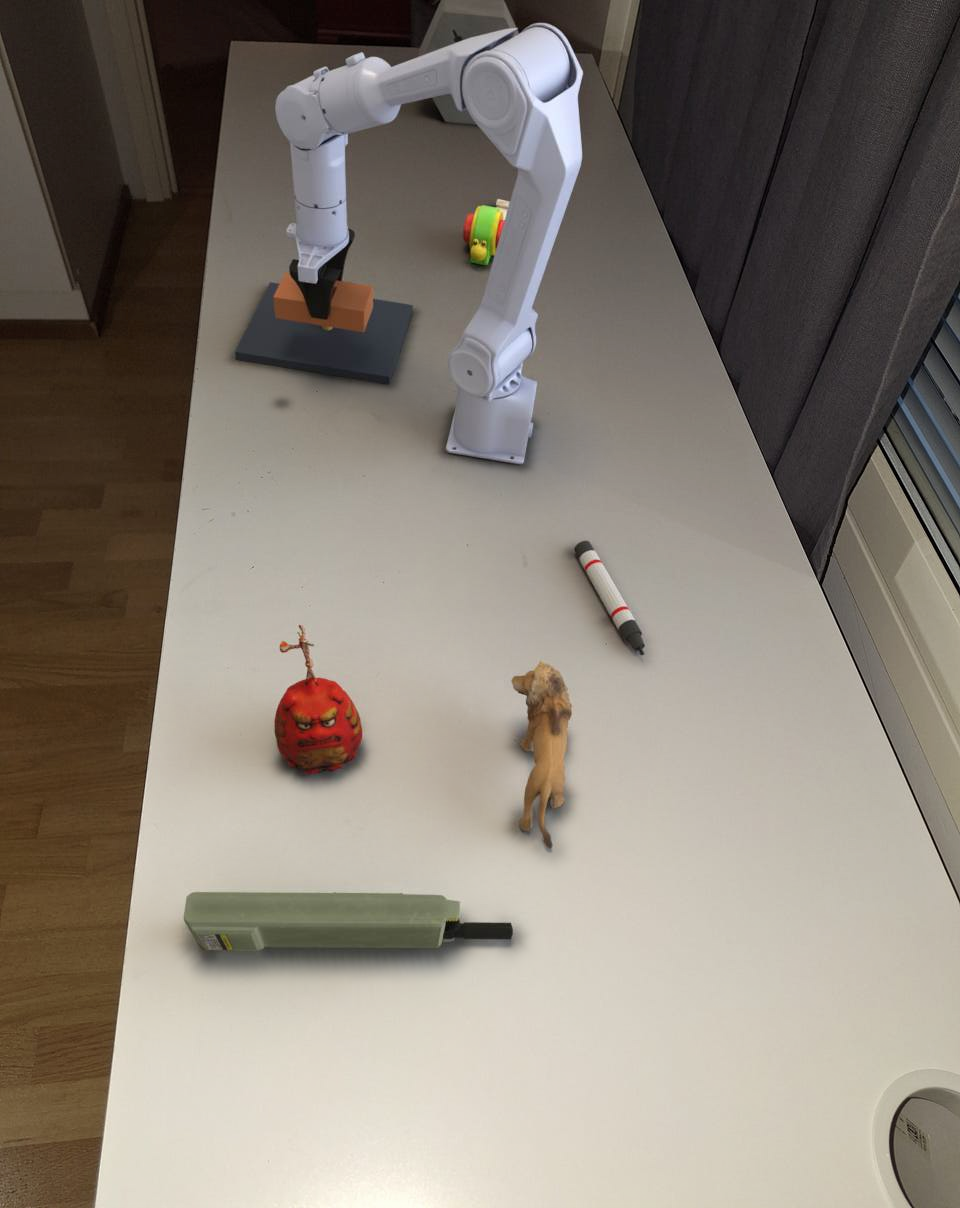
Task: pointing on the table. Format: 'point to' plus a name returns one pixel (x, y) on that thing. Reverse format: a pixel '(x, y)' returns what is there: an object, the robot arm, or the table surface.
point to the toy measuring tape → (485, 230)
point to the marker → (610, 595)
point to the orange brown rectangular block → (346, 305)
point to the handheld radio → (329, 920)
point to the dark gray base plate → (327, 342)
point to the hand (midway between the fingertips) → (325, 302)
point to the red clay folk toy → (316, 721)
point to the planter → (463, 38)
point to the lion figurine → (544, 740)
